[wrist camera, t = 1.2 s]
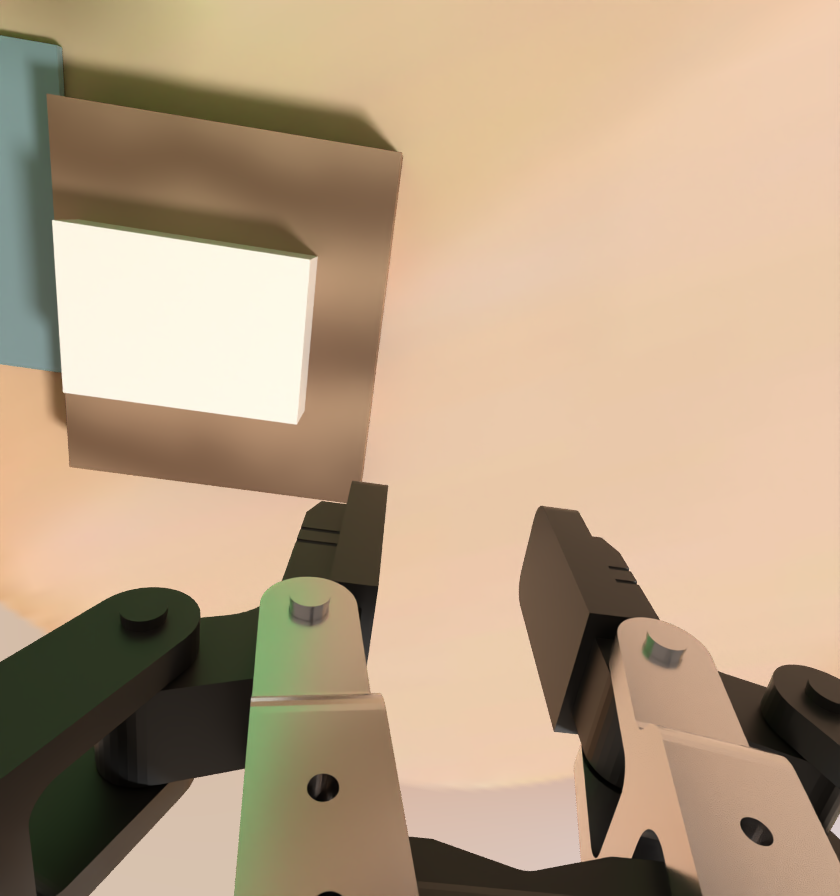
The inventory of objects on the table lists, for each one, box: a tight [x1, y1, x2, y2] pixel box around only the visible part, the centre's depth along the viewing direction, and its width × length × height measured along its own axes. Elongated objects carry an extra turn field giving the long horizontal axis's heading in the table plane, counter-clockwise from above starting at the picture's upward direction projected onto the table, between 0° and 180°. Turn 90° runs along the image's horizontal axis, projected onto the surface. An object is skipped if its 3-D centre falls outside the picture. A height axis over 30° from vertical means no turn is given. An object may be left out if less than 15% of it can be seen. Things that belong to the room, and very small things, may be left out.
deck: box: [46, 94, 403, 503], centre depth 28 cm, size 16×14×2 cm
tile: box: [52, 219, 318, 425], centre depth 26 cm, size 7×10×2 cm
